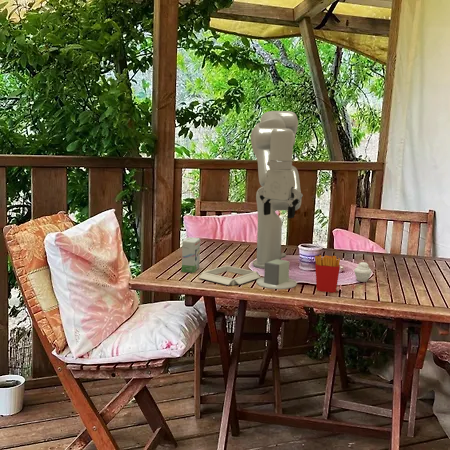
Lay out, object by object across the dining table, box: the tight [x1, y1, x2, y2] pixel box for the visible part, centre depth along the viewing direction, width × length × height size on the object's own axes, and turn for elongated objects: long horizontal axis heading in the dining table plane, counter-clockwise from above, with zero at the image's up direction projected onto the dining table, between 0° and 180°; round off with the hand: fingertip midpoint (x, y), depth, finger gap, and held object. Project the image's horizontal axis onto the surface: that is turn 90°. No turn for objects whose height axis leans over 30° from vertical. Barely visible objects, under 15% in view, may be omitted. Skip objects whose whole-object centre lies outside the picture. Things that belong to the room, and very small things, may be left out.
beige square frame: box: [197, 264, 261, 286], centre depth 192 cm, size 18×18×2 cm
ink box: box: [181, 236, 201, 273], centre depth 202 cm, size 9×5×12 cm, turn 168°
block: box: [263, 259, 290, 285], centre depth 185 cm, size 8×5×7 cm, turn 141°
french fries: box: [314, 254, 341, 293], centre depth 177 cm, size 8×4×12 cm, turn 73°
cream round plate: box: [256, 277, 298, 290], centre depth 186 cm, size 14×14×1 cm
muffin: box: [353, 261, 373, 283], centre depth 191 cm, size 6×6×7 cm
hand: (278, 216), depth 182 cm, fingers open, 9 cm apart
